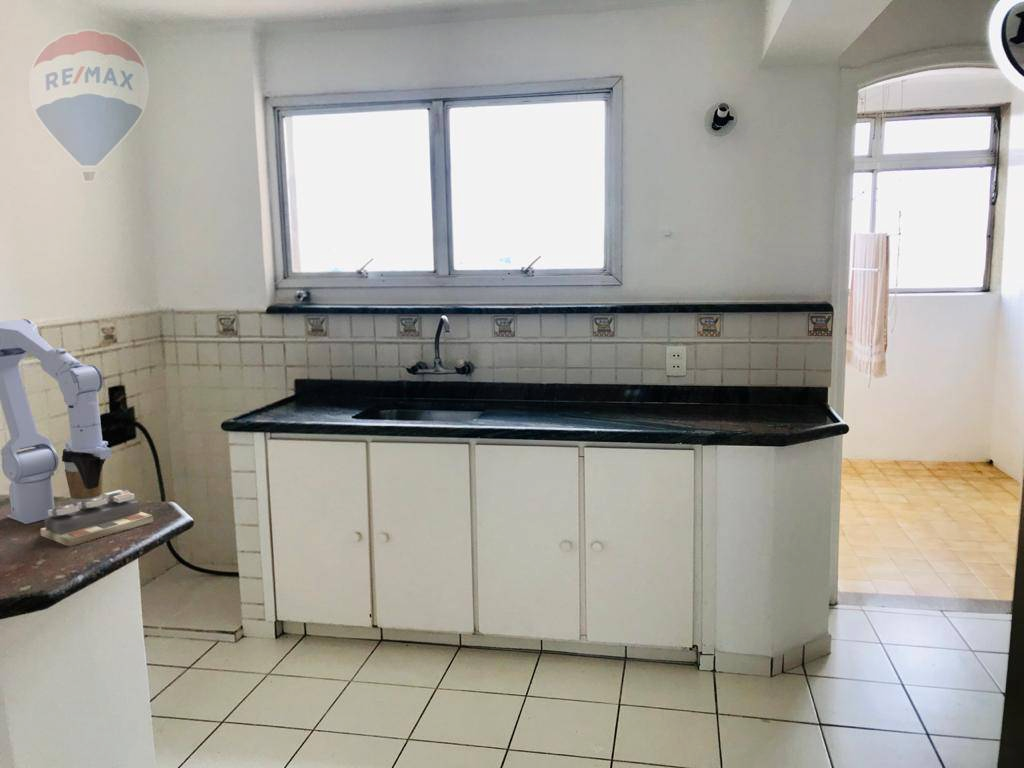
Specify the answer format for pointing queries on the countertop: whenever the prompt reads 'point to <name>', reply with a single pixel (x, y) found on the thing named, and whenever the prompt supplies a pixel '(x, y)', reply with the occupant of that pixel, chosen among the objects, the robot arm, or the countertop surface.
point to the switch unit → (94, 522)
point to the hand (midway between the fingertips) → (91, 487)
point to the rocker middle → (92, 503)
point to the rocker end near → (63, 510)
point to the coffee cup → (79, 481)
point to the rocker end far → (119, 496)
